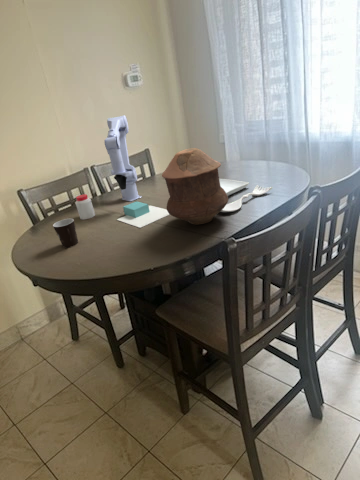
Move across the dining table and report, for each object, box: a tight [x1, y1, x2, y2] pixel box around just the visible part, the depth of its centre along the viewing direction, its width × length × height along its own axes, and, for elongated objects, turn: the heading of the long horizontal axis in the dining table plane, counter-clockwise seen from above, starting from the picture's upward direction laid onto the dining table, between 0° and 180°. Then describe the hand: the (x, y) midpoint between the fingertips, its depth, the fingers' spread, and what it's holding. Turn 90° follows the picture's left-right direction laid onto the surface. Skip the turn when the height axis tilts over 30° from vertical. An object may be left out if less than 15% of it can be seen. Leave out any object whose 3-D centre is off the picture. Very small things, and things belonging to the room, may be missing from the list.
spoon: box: [220, 184, 273, 213], centre depth 157 cm, size 9×32×4 cm, turn 132°
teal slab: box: [122, 200, 150, 218], centre depth 167 cm, size 4×8×10 cm
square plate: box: [219, 178, 250, 197], centre depth 177 cm, size 27×27×4 cm
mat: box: [116, 205, 171, 229], centre depth 163 cm, size 20×20×1 cm
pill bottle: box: [75, 193, 96, 220], centre depth 176 cm, size 8×8×11 cm
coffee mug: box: [52, 218, 79, 249], centre depth 144 cm, size 12×9×10 cm
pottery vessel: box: [161, 147, 229, 225], centre depth 140 cm, size 26×26×30 cm
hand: (123, 189), depth 174 cm, fingers closed
